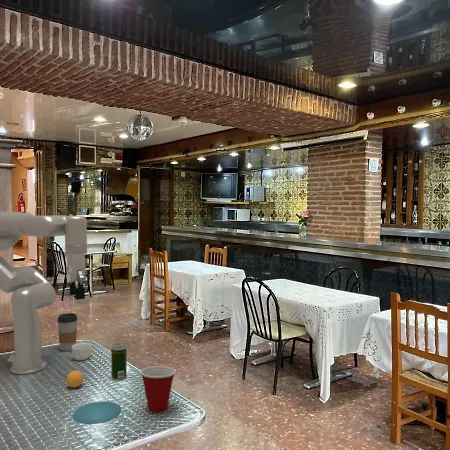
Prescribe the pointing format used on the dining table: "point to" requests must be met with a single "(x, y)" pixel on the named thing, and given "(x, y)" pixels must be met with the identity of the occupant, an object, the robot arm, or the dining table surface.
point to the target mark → (97, 412)
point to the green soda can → (119, 361)
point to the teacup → (81, 351)
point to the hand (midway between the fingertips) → (77, 296)
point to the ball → (74, 378)
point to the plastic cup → (157, 386)
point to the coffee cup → (67, 331)
